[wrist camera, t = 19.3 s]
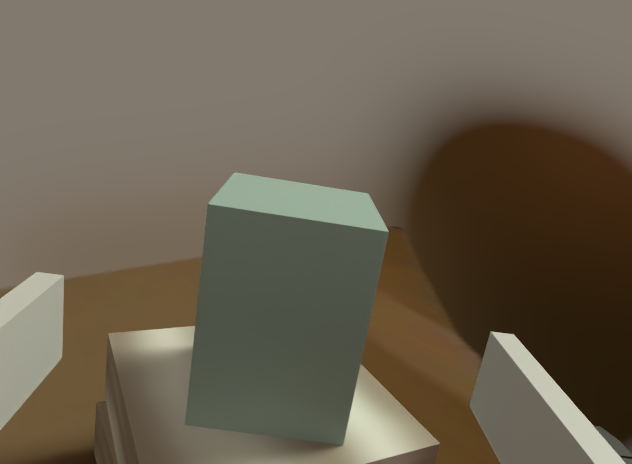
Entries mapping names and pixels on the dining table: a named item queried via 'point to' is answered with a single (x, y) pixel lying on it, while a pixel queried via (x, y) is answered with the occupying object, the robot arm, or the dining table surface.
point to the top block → (229, 446)
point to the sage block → (283, 308)
